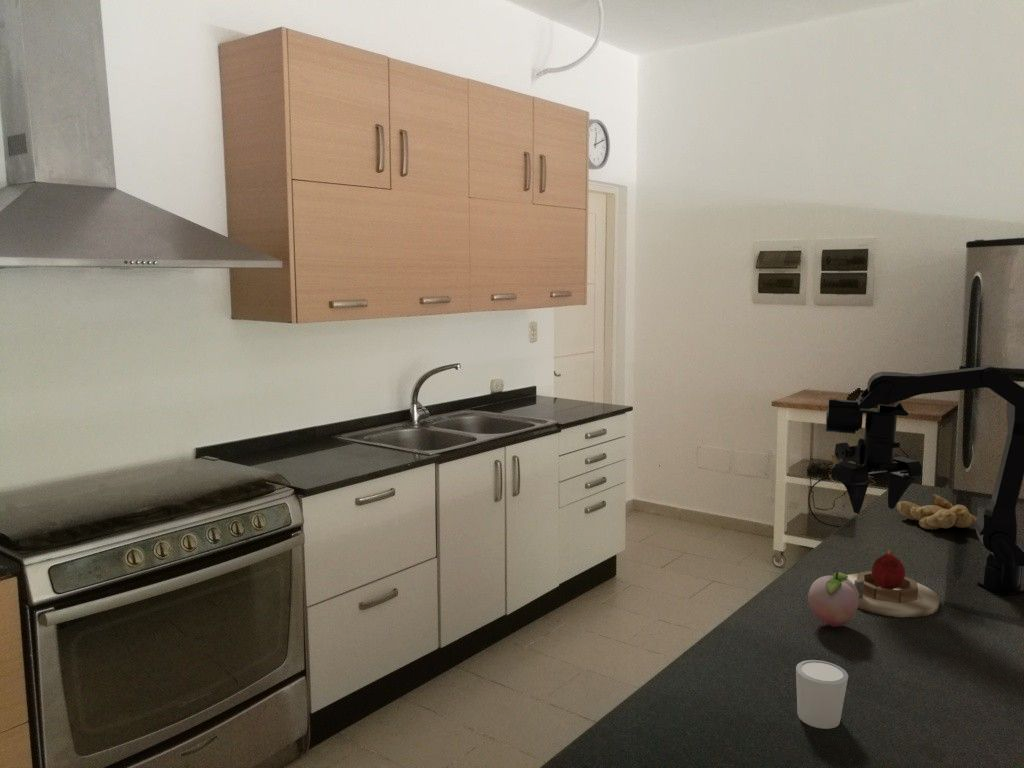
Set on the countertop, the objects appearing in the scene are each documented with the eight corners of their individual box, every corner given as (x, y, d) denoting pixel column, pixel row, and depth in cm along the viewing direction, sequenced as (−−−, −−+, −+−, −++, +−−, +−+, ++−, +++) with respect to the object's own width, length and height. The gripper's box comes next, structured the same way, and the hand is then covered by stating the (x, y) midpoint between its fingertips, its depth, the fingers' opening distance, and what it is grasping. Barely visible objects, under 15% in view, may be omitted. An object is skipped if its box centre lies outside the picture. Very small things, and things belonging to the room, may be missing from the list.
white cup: (785, 705, 120) (787, 659, 119) (831, 703, 120) (834, 658, 119) (805, 732, 113) (808, 684, 112) (854, 730, 114) (857, 682, 112)
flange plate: (884, 573, 170) (885, 554, 169) (961, 608, 153) (963, 586, 153) (814, 586, 163) (816, 566, 162) (887, 624, 146) (889, 601, 146)
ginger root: (995, 532, 192) (989, 499, 191) (926, 547, 193) (920, 514, 192) (960, 514, 208) (955, 483, 207) (897, 528, 208) (891, 497, 207)
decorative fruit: (809, 611, 151) (813, 559, 150) (858, 620, 148) (862, 566, 146) (803, 632, 143) (806, 576, 141) (854, 642, 139) (858, 585, 138)
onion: (906, 598, 154) (910, 557, 153) (873, 595, 156) (876, 554, 155) (899, 586, 160) (902, 546, 159) (867, 584, 161) (870, 544, 160)
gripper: (883, 424, 177) (877, 495, 180) (814, 430, 170) (809, 504, 173) (927, 435, 167) (920, 510, 170) (855, 442, 160) (849, 520, 162)
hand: (873, 510), depth 169 cm, fingers open, 9 cm apart
